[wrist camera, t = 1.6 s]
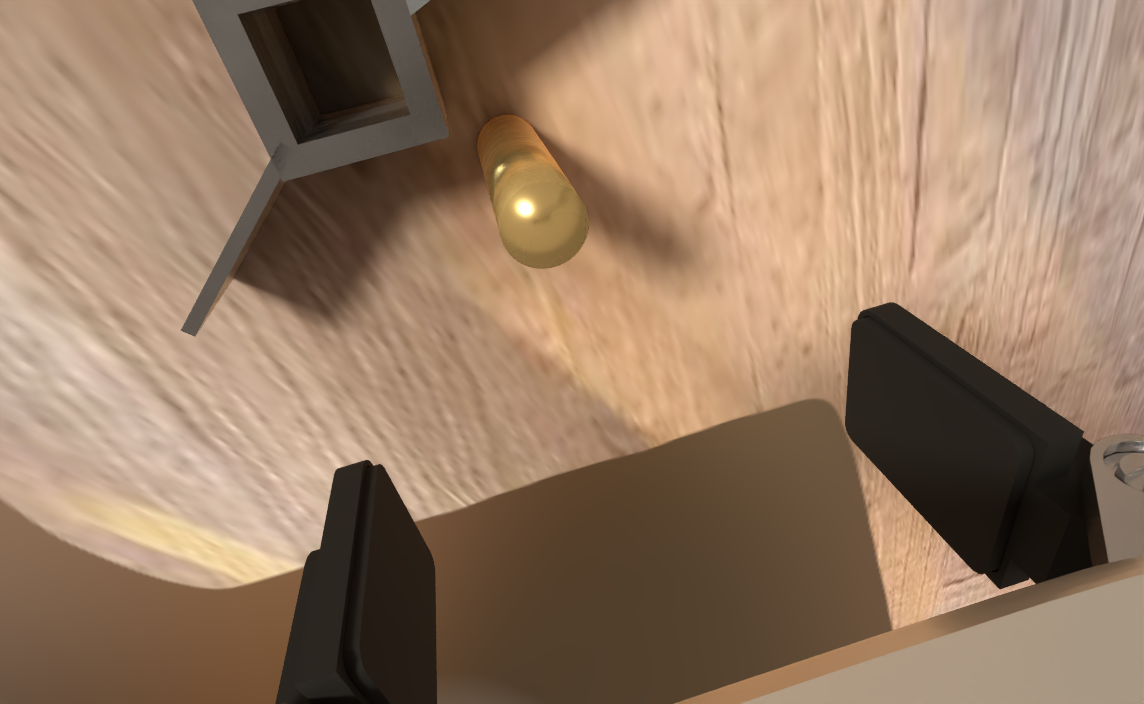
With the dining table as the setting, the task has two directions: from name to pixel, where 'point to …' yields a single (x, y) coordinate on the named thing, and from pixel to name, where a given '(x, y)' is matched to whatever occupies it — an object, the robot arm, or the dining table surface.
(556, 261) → the pin
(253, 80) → the grey winged square socket
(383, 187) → the dining table surface
